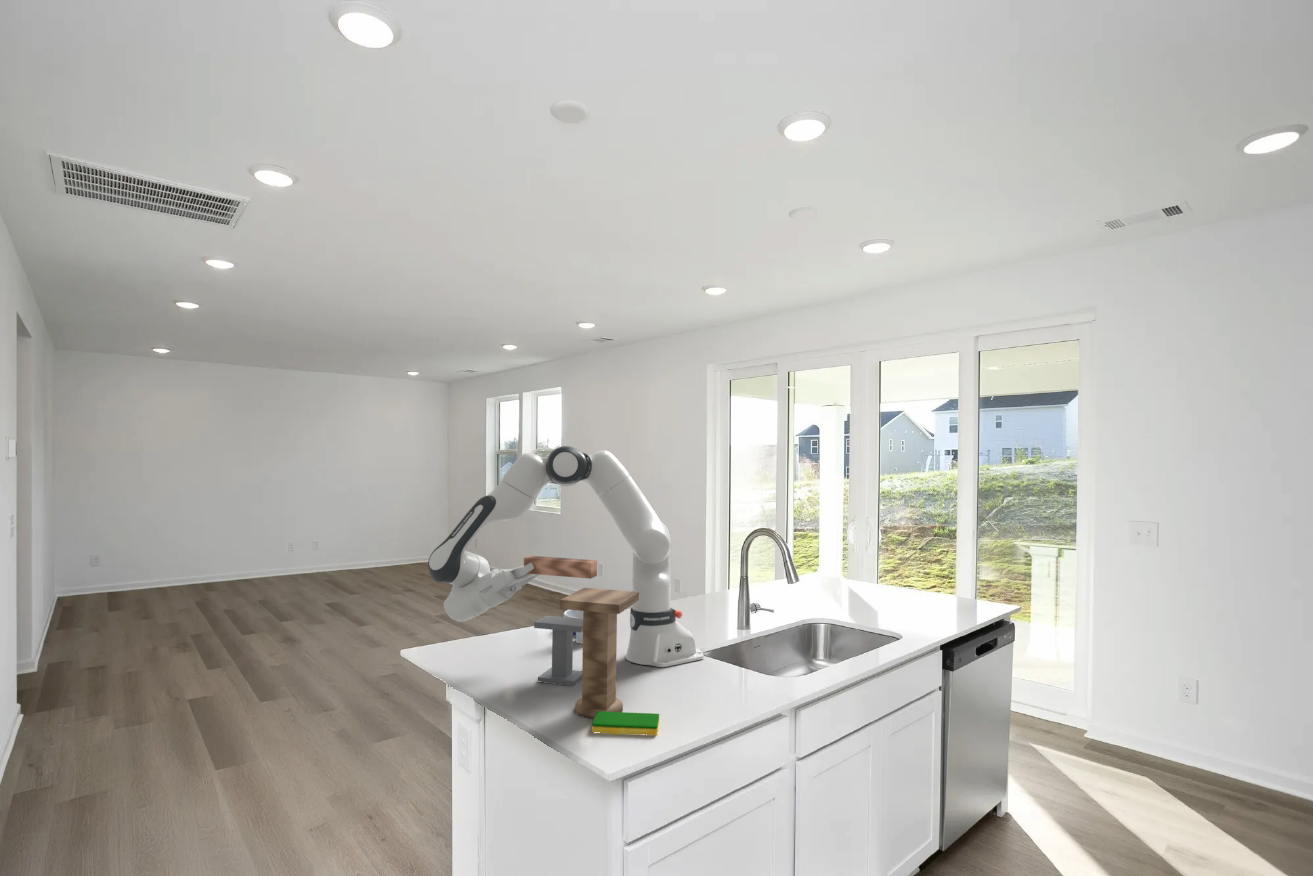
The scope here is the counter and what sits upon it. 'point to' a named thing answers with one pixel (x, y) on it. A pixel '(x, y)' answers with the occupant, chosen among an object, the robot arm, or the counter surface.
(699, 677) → the counter surface
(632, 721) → the dish sponge
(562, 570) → the block
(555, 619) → the low stand
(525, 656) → the counter surface
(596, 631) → the walnut pedestal
